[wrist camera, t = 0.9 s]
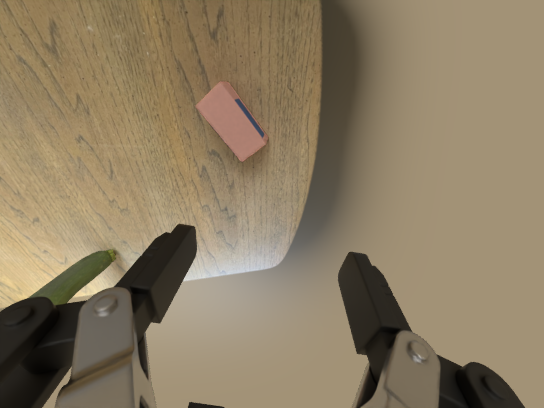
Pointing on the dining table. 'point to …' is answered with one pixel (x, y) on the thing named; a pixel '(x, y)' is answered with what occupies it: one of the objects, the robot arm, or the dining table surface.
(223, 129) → the eraser
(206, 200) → the dining table surface
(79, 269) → the vegetable
